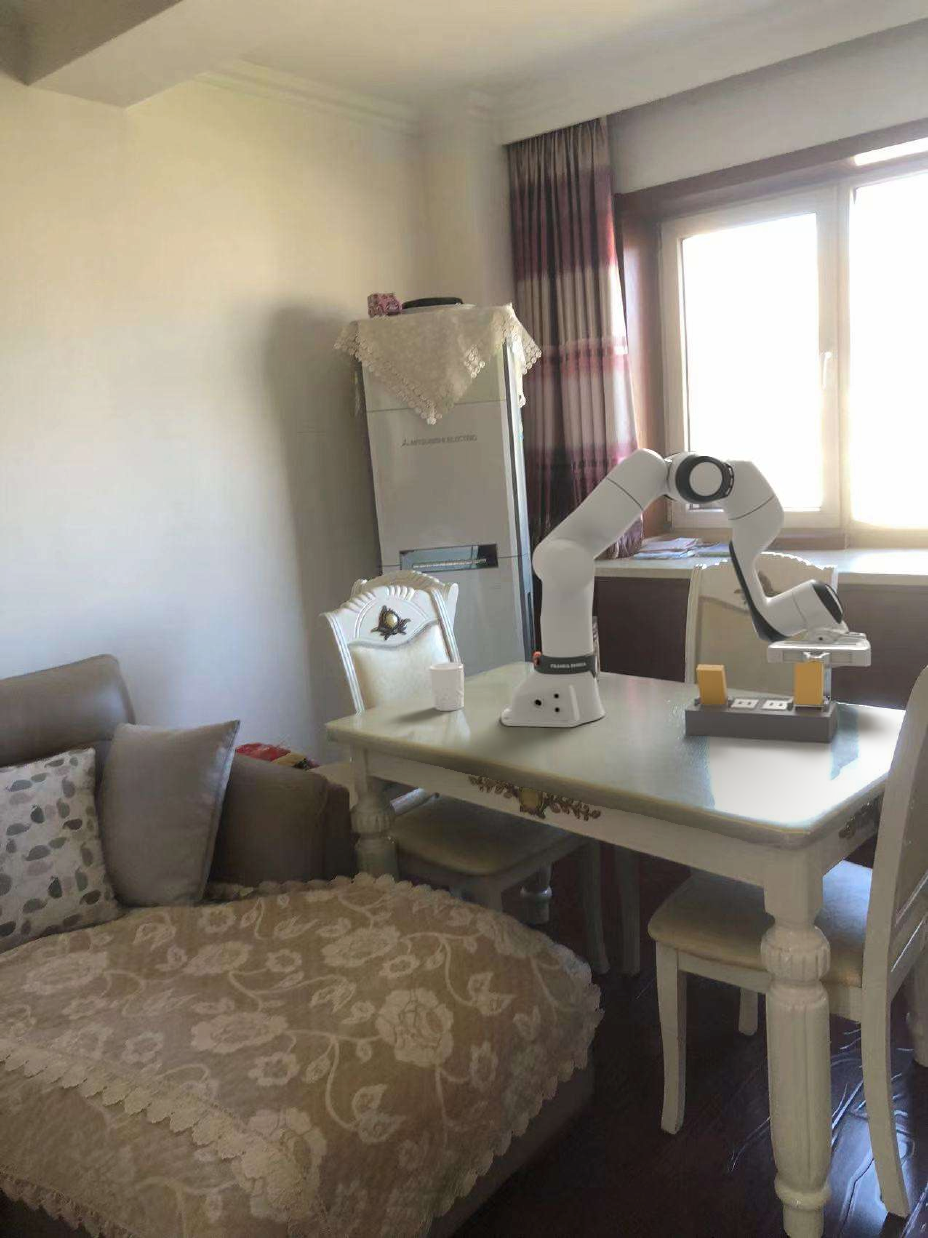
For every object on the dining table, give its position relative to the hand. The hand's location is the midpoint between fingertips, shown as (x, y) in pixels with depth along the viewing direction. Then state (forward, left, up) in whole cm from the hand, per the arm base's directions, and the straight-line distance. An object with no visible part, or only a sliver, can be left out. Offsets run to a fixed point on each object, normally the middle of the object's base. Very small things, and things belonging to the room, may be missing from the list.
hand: (814, 661), depth 199 cm
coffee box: (-47, +39, -12) cm, 62 cm away
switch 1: (-20, -4, -6) cm, 21 cm away
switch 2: (-3, -9, -6) cm, 12 cm away
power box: (-11, -6, -12) cm, 18 cm away
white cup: (-78, +20, -12) cm, 82 cm away
